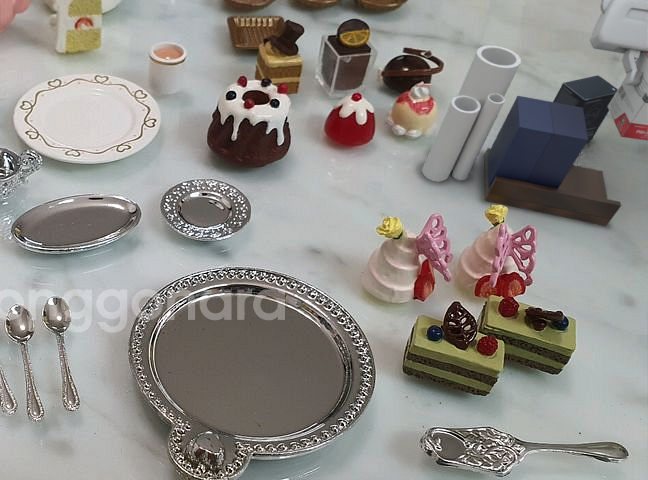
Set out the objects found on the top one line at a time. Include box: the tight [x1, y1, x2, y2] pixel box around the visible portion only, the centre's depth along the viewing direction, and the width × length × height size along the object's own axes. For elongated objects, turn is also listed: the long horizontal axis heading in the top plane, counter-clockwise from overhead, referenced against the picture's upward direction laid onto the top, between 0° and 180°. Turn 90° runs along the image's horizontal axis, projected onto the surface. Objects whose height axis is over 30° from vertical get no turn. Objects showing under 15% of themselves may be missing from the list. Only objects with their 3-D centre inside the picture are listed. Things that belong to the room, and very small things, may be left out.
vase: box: [421, 44, 522, 183], centre depth 124 cm, size 11×7×20 cm, turn 146°
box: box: [552, 74, 619, 142], centre depth 134 cm, size 8×6×11 cm
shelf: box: [483, 147, 622, 227], centre depth 127 cm, size 19×13×4 cm
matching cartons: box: [488, 95, 589, 189], centre depth 123 cm, size 10×9×12 cm
